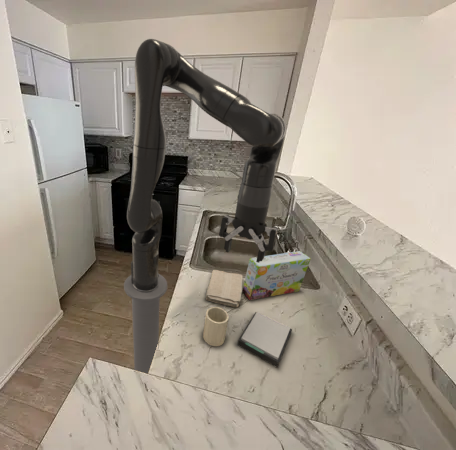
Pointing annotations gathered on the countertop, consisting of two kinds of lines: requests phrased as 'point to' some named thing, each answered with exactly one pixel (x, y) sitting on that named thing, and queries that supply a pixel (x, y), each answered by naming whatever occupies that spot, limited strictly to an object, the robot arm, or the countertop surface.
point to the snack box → (275, 275)
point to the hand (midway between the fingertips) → (242, 255)
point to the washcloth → (225, 288)
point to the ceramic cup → (215, 326)
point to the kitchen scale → (265, 338)
